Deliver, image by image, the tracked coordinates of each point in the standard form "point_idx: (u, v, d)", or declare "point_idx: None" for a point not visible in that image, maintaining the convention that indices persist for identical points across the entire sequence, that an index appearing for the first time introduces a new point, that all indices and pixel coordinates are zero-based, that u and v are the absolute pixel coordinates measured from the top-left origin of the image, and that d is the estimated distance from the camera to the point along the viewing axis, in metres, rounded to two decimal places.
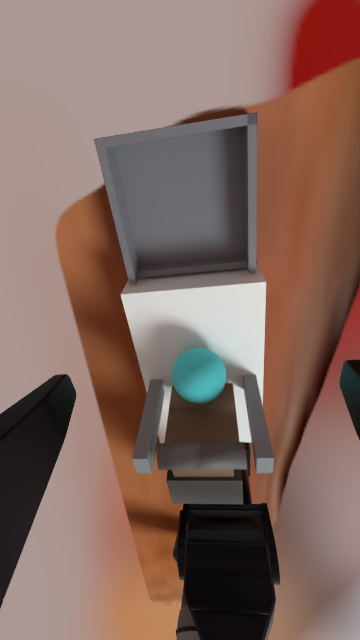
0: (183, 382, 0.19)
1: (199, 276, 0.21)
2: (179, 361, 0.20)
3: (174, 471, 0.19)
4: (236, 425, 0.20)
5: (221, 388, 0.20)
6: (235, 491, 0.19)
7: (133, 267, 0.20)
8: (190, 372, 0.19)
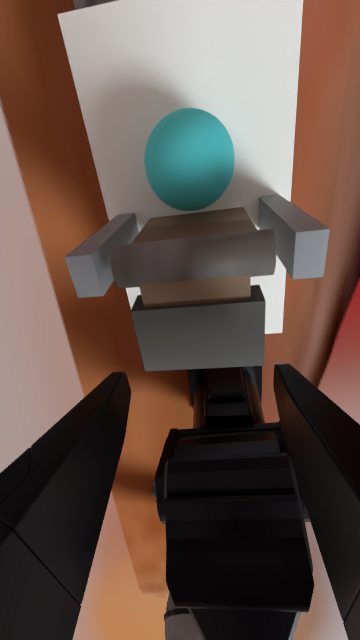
0: (160, 145, 0.11)
1: None
2: None
3: (143, 290, 0.11)
4: (252, 225, 0.11)
5: (226, 166, 0.12)
6: (251, 332, 0.11)
7: None
8: (173, 123, 0.11)
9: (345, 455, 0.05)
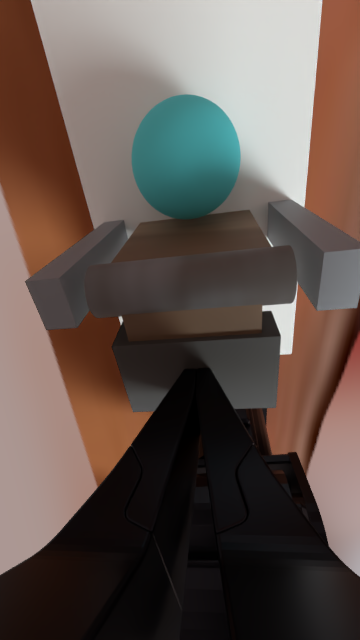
0: (149, 140, 0.09)
1: None
2: (144, 117, 0.10)
3: (127, 321, 0.08)
4: (263, 237, 0.09)
5: (231, 166, 0.10)
6: (262, 371, 0.09)
7: None
8: (165, 113, 0.09)
9: (217, 456, 0.06)
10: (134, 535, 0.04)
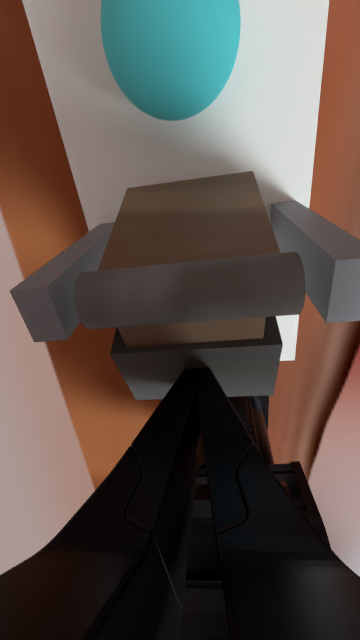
0: None
1: None
2: None
3: (124, 332, 0.08)
4: (269, 227, 0.08)
5: None
6: (261, 370, 0.09)
7: None
8: None
9: (217, 456, 0.06)
10: (134, 536, 0.04)
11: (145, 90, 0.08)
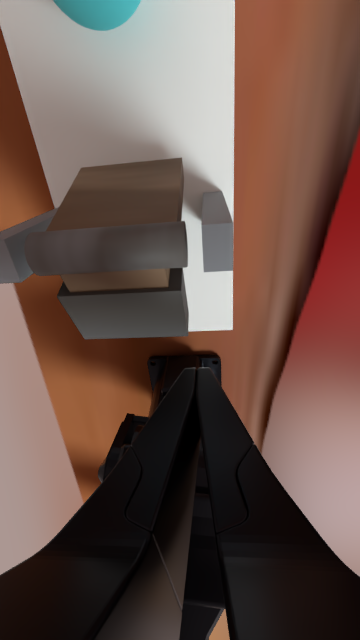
0: None
1: None
2: (72, 19, 0.11)
3: (65, 279, 0.11)
4: (176, 203, 0.11)
5: None
6: (173, 313, 0.12)
7: None
8: None
9: (217, 456, 0.06)
10: (134, 535, 0.04)
11: None
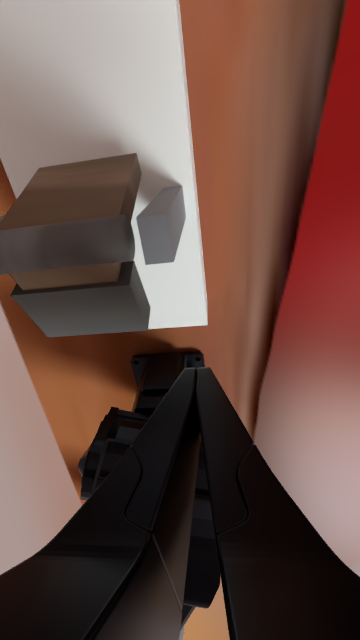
0: None
1: None
2: None
3: (15, 277, 0.11)
4: (121, 198, 0.11)
5: None
6: (127, 307, 0.12)
7: None
8: None
9: (217, 456, 0.06)
10: (134, 535, 0.04)
11: None
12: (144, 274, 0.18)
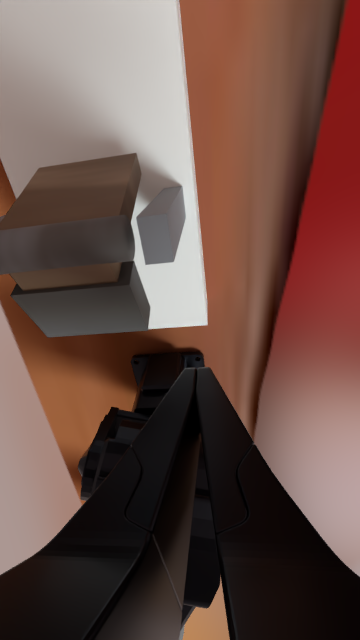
0: None
1: None
2: None
3: (15, 277, 0.11)
4: (121, 198, 0.11)
5: None
6: (127, 307, 0.12)
7: None
8: None
9: (217, 456, 0.06)
10: (134, 535, 0.04)
11: None
12: (144, 274, 0.18)
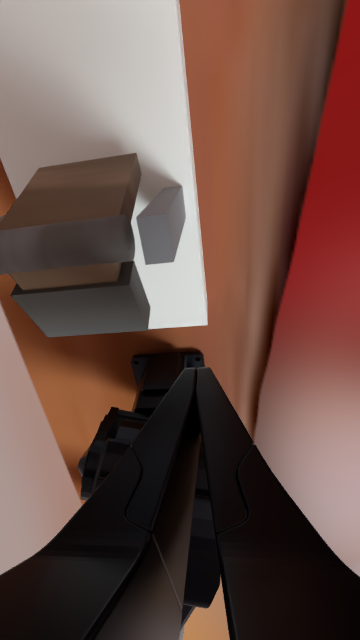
0: None
1: None
2: None
3: (15, 277, 0.11)
4: (121, 198, 0.11)
5: None
6: (127, 307, 0.12)
7: None
8: None
9: (217, 456, 0.06)
10: (134, 535, 0.04)
11: None
12: (144, 274, 0.18)
